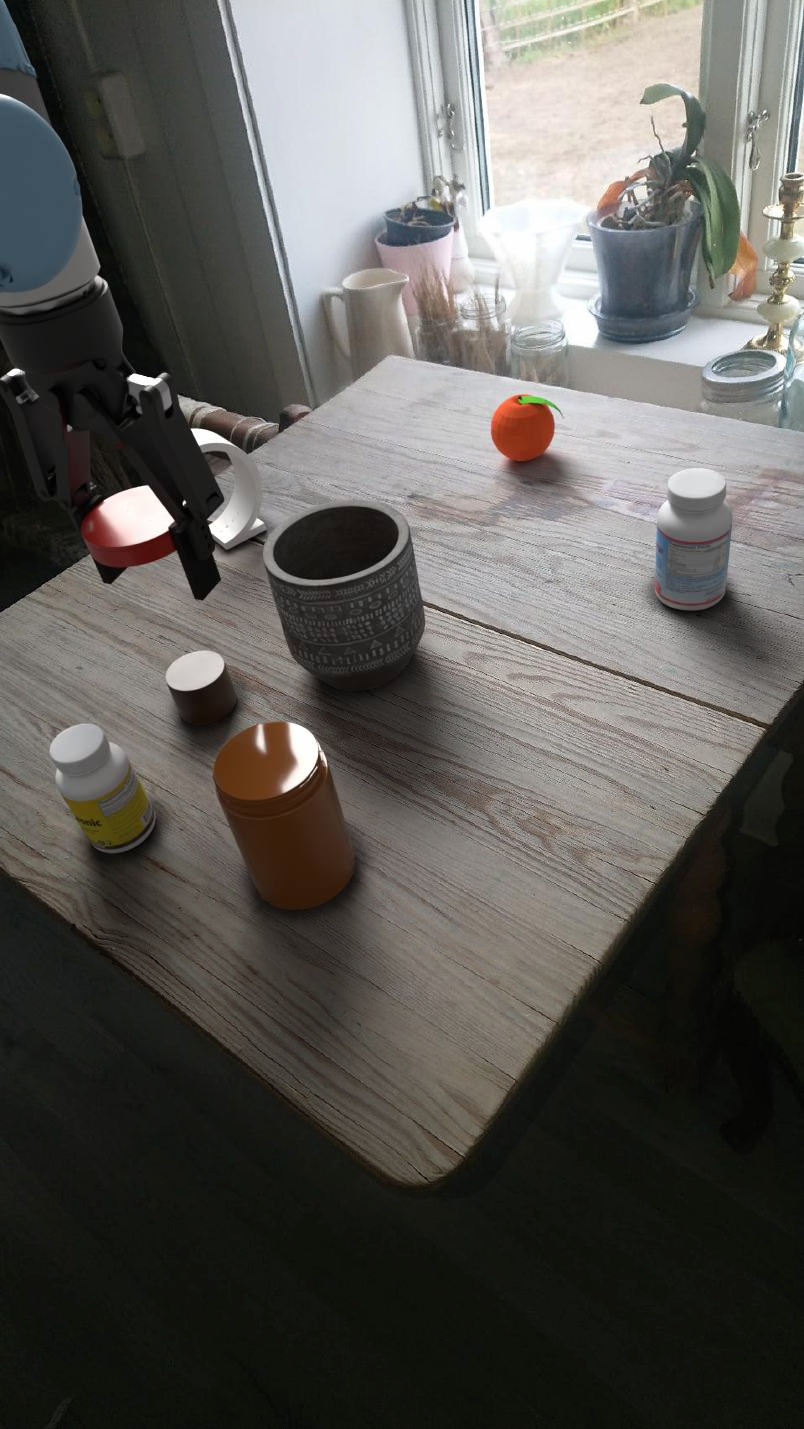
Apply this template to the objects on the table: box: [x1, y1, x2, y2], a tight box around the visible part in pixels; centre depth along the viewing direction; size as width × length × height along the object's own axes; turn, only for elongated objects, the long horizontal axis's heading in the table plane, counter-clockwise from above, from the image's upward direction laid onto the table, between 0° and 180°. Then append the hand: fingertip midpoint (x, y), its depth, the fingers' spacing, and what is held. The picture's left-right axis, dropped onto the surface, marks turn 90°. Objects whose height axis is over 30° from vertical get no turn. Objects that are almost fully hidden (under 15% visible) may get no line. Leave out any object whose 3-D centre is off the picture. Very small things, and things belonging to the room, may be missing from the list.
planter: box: [261, 499, 426, 692], centre depth 83 cm, size 12×12×13 cm
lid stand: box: [164, 650, 238, 726], centre depth 84 cm, size 5×5×4 cm
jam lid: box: [81, 484, 186, 568], centre depth 73 cm, size 8×8×2 cm
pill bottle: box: [654, 467, 733, 611], centre depth 83 cm, size 6×6×11 cm
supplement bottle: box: [49, 723, 157, 854], centre depth 73 cm, size 5×5×10 cm
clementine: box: [490, 393, 565, 462], centre depth 105 cm, size 8×7×7 cm
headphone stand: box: [191, 428, 267, 551], centre depth 102 cm, size 5×6×12 cm
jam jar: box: [212, 720, 356, 911], centre depth 67 cm, size 8×8×12 cm
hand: (161, 581), depth 77 cm, fingers closed on jam lid, 8 cm apart
